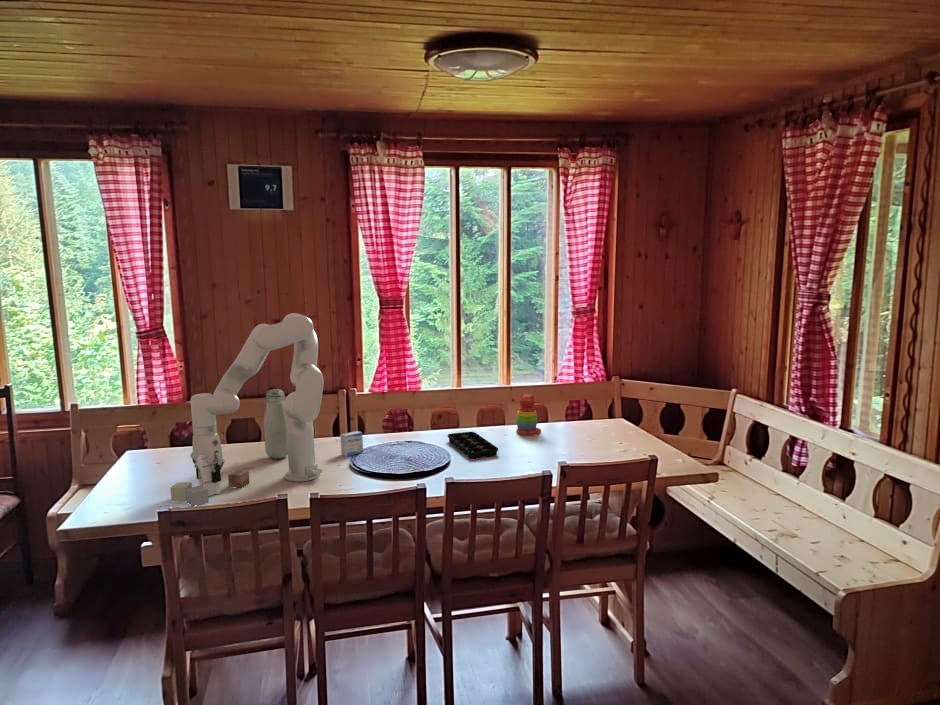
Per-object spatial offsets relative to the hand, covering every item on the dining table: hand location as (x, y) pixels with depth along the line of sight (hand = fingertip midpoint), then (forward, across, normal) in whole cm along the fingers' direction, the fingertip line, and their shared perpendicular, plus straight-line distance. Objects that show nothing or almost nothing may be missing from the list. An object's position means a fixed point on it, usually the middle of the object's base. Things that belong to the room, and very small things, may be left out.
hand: (208, 479), depth 229 cm
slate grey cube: (+5, -4, +8) cm, 10 cm away
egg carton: (+5, -54, -87) cm, 102 cm away
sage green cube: (+5, +4, +8) cm, 10 cm away
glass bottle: (+5, +9, -40) cm, 41 cm away
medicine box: (+5, -14, -58) cm, 60 cm away
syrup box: (+5, 0, 0) cm, 5 cm away
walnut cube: (+5, -3, -10) cm, 12 cm away
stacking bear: (+5, -64, -118) cm, 134 cm away
